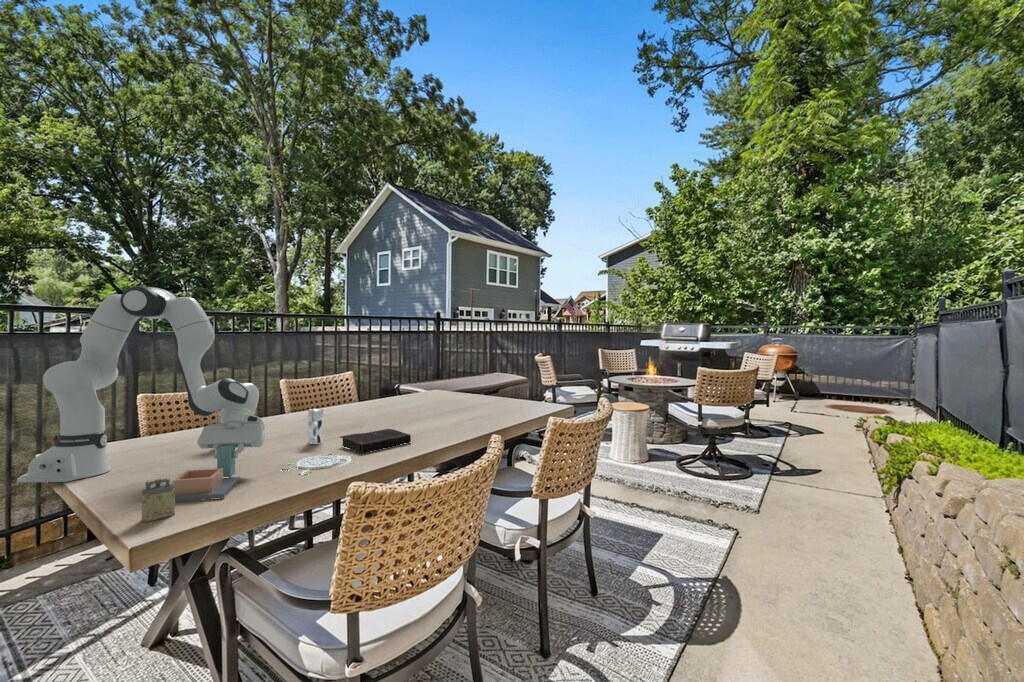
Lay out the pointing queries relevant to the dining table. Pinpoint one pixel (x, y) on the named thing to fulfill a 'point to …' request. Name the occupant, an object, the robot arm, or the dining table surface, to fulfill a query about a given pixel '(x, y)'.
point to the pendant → (320, 462)
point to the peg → (226, 460)
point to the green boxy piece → (158, 500)
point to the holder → (203, 485)
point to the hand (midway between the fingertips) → (225, 457)
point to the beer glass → (315, 425)
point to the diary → (375, 440)
